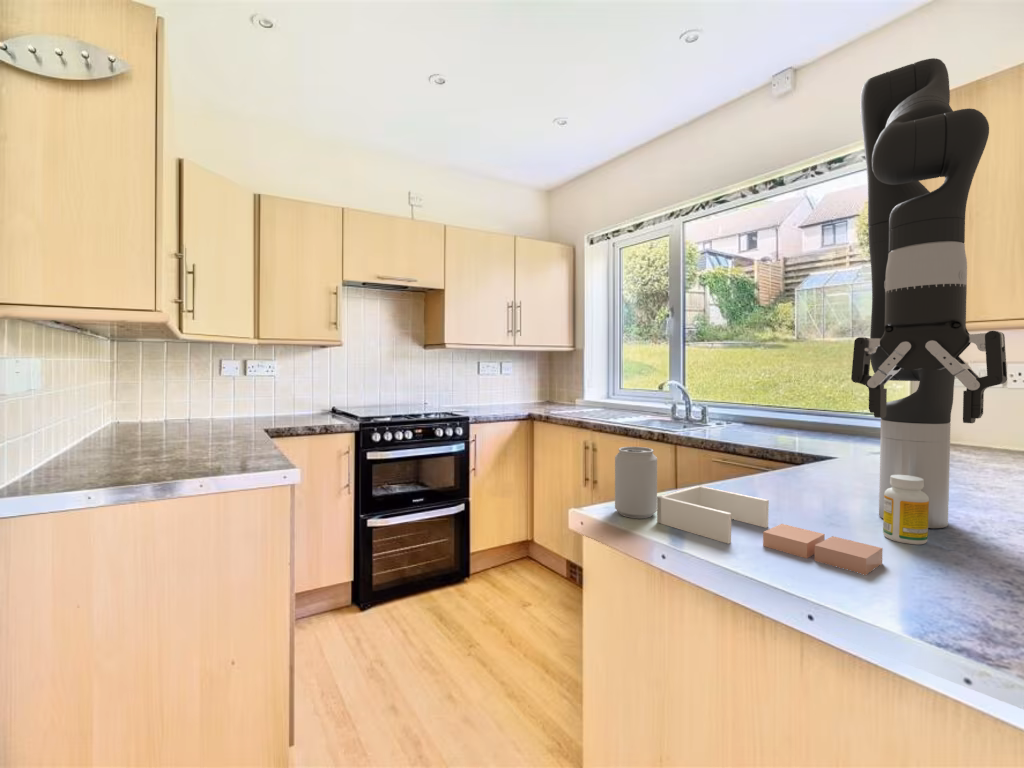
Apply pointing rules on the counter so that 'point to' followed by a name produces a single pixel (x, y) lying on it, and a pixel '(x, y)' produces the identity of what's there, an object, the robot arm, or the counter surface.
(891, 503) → the supplement bottle
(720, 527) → the white u-shaped bracket
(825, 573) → the counter surface
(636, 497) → the can
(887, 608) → the counter surface
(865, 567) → the tile
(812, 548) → the tile
